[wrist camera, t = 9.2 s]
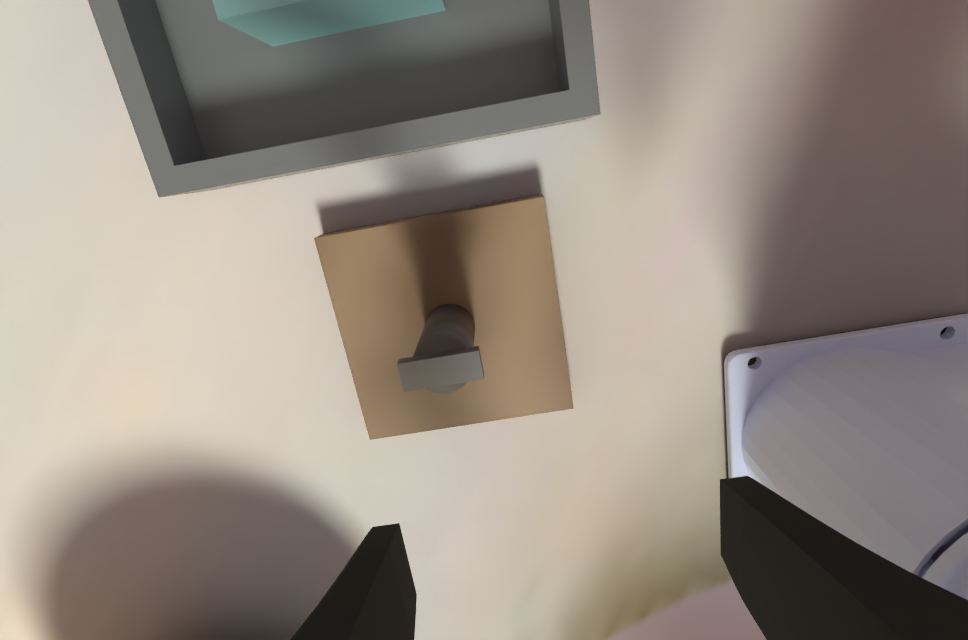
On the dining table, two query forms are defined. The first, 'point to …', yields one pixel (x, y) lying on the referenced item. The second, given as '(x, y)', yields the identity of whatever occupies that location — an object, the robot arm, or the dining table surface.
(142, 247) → the dining table surface
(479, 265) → the stake board
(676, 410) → the dining table surface
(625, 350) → the dining table surface
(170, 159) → the tray
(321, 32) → the collar
